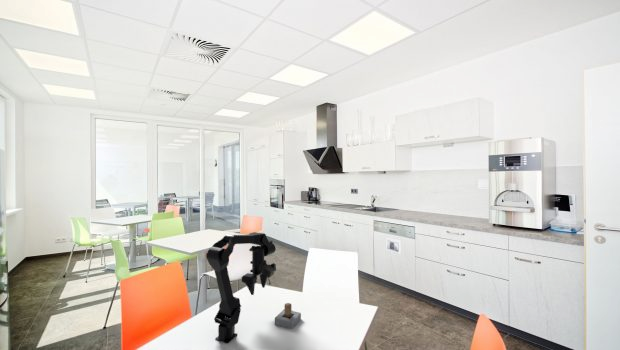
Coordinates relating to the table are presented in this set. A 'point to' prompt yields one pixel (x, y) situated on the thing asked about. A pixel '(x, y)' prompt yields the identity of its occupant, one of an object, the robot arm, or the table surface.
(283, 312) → the socket
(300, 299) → the table surface
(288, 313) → the peg
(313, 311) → the table surface
